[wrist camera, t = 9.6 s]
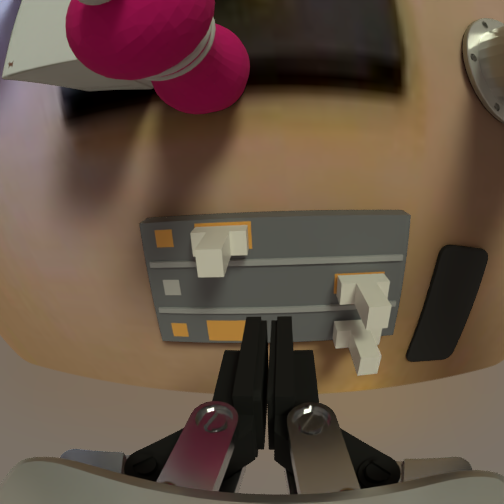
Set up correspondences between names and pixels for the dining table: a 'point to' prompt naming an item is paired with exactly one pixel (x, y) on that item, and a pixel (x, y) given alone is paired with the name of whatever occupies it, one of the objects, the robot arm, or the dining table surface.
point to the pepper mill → (161, 49)
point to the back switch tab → (359, 344)
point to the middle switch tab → (366, 297)
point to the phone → (447, 302)
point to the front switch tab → (218, 247)
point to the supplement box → (52, 51)
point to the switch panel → (272, 271)
